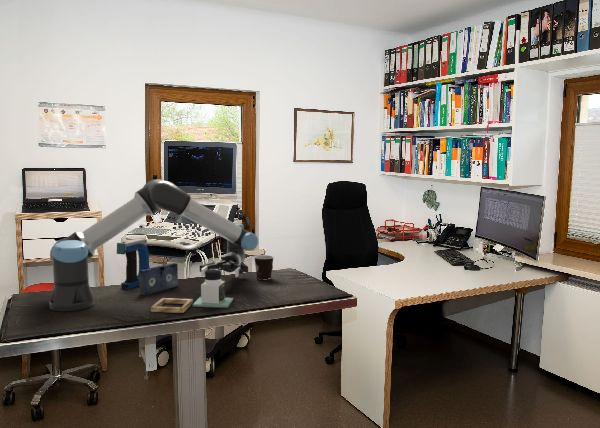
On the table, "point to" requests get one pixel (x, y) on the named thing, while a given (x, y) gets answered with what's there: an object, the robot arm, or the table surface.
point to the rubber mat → (224, 303)
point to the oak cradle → (182, 309)
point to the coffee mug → (263, 266)
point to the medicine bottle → (213, 287)
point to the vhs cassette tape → (158, 278)
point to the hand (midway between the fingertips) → (219, 273)
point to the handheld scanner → (134, 260)
